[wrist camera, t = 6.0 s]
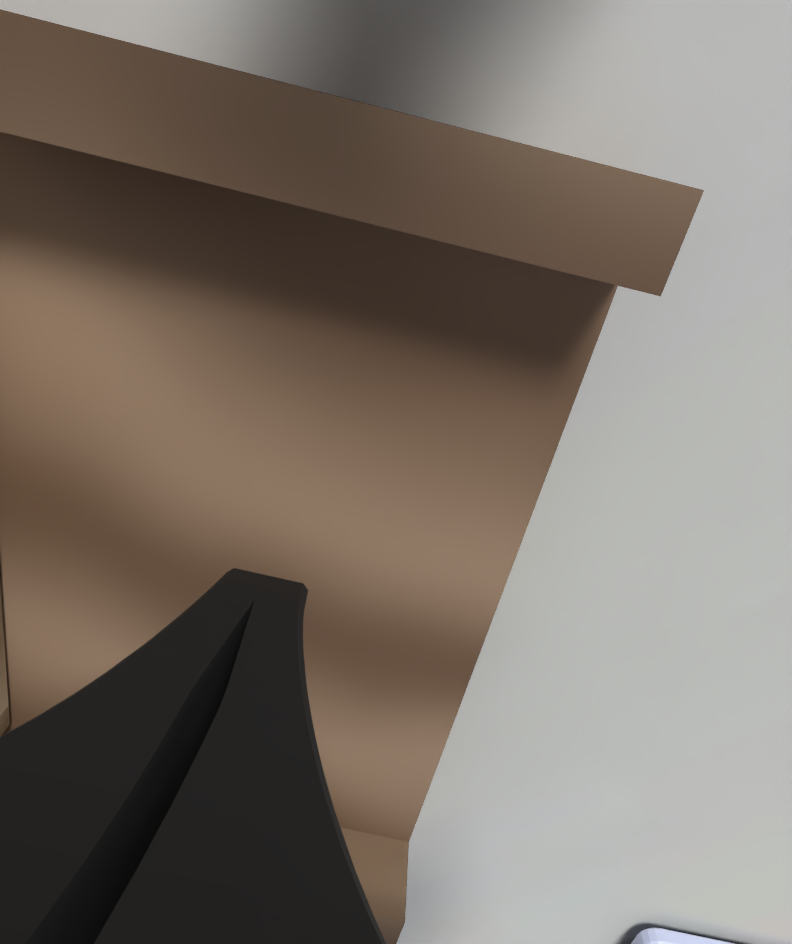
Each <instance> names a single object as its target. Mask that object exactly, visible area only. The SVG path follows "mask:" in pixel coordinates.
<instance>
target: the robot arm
mask: <svg viewBox="0 0 792 944" xmlns="http://www.w3.org/2000/svg"><path fill="white" fill-rule="evenodd" d="M307 595H308V589H307V588H306V586H305V585H304V584H303V583H299V582H295V581H291V580H286V579H282V578H277V577H273V576H268V575H264V574H259V573H255V572H250V571H246V570H241V569H237V568H233V569H231V570H229V571H228V572H226V573H225V574H224V575H223V576H222V577H221V578H220V579H219V580H218V581H217V582H216V583H215V584H214V585H213V586H212V587H211V588H210V589H209V590H208V591H207V592H206V593H205V594H203V595H202V596H201V597H200V598H199V599H198V600H197V601H196V602H195V603H193V604H192V605H191V606H190V607H189V608H188V609H187V610H185V611H184V612H183V613H182V614H181V615H180V616H178V617H177V618H176V619H175V620H173V621H172V622H171V623H170V624H169V625H167V626H166V627H165V628H164V629H162V630H161V631H160V632H159V633H158V634H156V635H155V636H154V637H153V638H151V639H150V640H149V641H148V642H146V643H145V644H144V645H142V646H141V647H140V648H138V649H137V650H136V651H134V652H133V653H132V654H130V655H129V656H127V657H126V658H125V659H123V660H122V661H121V662H119V663H118V664H117V665H115V666H114V667H112V668H111V669H110V670H108V671H107V672H106V673H104V674H103V675H101V676H100V677H98V678H97V679H95V680H94V681H92V682H91V683H89V684H88V685H86V686H85V687H83V688H82V689H80V690H79V691H77V692H76V693H74V694H73V695H71V696H69V697H68V698H66V699H65V700H63V701H61V702H60V703H58V704H56V705H55V706H53V707H52V708H50V709H48V710H47V711H45V712H43V713H42V714H40V715H38V716H37V717H35V718H33V719H31V720H29V721H28V722H26V723H24V724H22V725H21V726H19V727H17V728H15V729H13V730H12V731H10V732H8V733H6V734H5V735H3V736H1V737H0V944H386V942H385V940H384V938H383V935H382V933H381V931H380V929H379V926H378V924H377V922H376V920H375V917H374V915H373V913H372V910H371V908H370V905H369V903H368V900H367V898H366V895H365V893H364V890H363V888H362V885H361V883H360V881H359V878H358V876H357V873H356V871H355V868H354V865H353V862H352V859H351V856H350V853H349V850H348V848H347V845H346V842H345V839H344V836H343V833H342V830H341V827H340V825H339V822H338V819H337V816H336V813H335V810H334V807H333V803H332V800H331V796H330V793H329V789H328V786H327V782H326V779H325V775H324V771H323V767H322V763H321V759H320V755H319V751H318V747H317V742H316V737H315V732H314V727H313V722H312V716H311V710H310V704H309V698H308V691H307V683H306V674H305V662H304V650H303V616H304V610H305V605H306V600H307ZM631 944H735V943H730V942H725V941H720V940H715V939H711V938H706V937H701V936H696V935H691V934H687V933H682V932H677V931H672V930H667V929H663V928H647V929H645V930H642V931H641V932H640V933H638V935H637V936H636V937H635V939H634V940H633V942H632V943H631Z"/></svg>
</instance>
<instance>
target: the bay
mask: <svg viewBox="0 0 792 944" xmlns="http://www.w3.org/2000/svg"><path fill="white" fill-rule="evenodd" d="M703 191H704V190H701V189H697V188H693V187H689V186H685V185H681V184H677V183H673V182H669V181H666V180H662V179H658V178H654V177H650V176H646V175H642V174H638V173H634V172H630V171H627V170H623V169H619V168H615V167H611V166H607V165H603V164H599V163H595V162H592V161H588V160H584V159H580V158H576V157H572V156H568V155H564V154H560V153H557V152H553V151H549V150H545V149H541V148H537V147H533V146H529V145H525V144H522V143H518V142H514V141H510V140H506V139H502V138H498V137H494V136H490V135H487V134H483V133H479V132H475V131H471V130H467V129H463V128H459V127H455V126H452V125H448V124H444V123H440V122H436V121H432V120H428V119H424V118H420V117H417V116H413V115H409V114H405V113H401V112H397V111H393V110H389V109H385V108H381V107H378V106H374V105H370V104H366V103H362V102H358V101H354V100H350V99H346V98H343V97H339V96H335V95H331V94H327V93H323V92H319V91H315V90H311V89H308V88H304V87H300V86H296V85H292V84H288V83H284V82H280V81H276V80H273V79H269V78H265V77H261V76H257V75H253V74H249V73H245V72H241V71H238V70H234V69H230V68H226V67H222V66H218V65H214V64H210V63H206V62H203V61H199V60H195V59H191V58H187V57H183V56H179V55H175V54H171V53H168V52H164V51H160V50H156V49H152V48H148V47H144V46H140V45H136V44H132V43H129V42H125V41H121V40H117V39H113V38H109V37H105V36H101V35H97V34H94V33H90V32H86V31H82V30H78V29H74V28H70V27H66V26H62V25H59V24H55V23H51V22H47V21H43V20H39V19H35V18H31V17H27V16H24V15H20V14H16V13H12V12H8V11H4V10H0V587H1V601H2V616H3V630H4V645H5V659H6V674H7V688H8V703H9V717H10V725H9V726H8V727H7V729H6V730H5V731H4V733H3V734H2V735H1V736H3V735H5V734H6V733H8V732H10V731H12V730H13V729H15V728H17V727H19V726H21V725H22V724H24V723H26V722H28V721H29V720H31V719H33V718H35V717H37V716H38V715H40V714H42V713H43V712H45V711H47V710H48V709H50V708H52V707H53V706H55V705H56V704H58V703H60V702H61V701H63V700H65V699H66V698H68V697H69V696H71V695H73V694H74V693H76V692H77V691H79V690H80V689H82V688H83V687H85V686H86V685H88V684H89V683H91V682H92V681H94V680H95V679H97V678H98V677H100V676H101V675H103V674H104V673H106V672H107V671H108V670H110V669H111V668H112V667H114V666H115V665H117V664H118V663H119V662H121V661H122V660H123V659H125V658H126V657H127V656H129V655H130V654H132V653H133V652H134V651H136V650H137V649H138V648H140V647H141V646H142V645H144V644H145V643H146V642H148V641H149V640H150V639H151V638H153V637H154V636H155V635H156V634H158V633H159V632H160V631H161V630H162V629H164V628H165V627H166V626H167V625H169V624H170V623H171V622H172V621H173V620H175V619H176V618H177V617H178V616H180V615H181V614H182V613H183V612H184V611H185V610H187V609H188V608H189V607H190V606H191V605H192V604H193V603H195V602H196V601H197V600H198V599H199V598H200V597H201V596H202V595H203V594H205V593H206V592H207V591H208V590H209V589H210V588H211V587H212V586H213V585H214V584H215V583H216V582H217V581H218V580H219V579H220V578H221V577H222V576H223V575H224V574H225V573H226V572H228V571H229V570H231V569H233V568H237V569H241V570H246V571H250V572H255V573H259V574H264V575H268V576H273V577H277V578H282V579H286V580H291V581H295V582H299V583H303V584H304V585H305V586H306V588H307V589H308V595H307V600H306V605H305V610H304V616H303V650H304V662H305V674H306V683H307V691H308V698H309V704H310V710H311V716H312V722H313V727H314V732H315V737H316V742H317V747H318V751H319V755H320V759H321V763H322V767H323V771H324V775H325V779H326V782H327V786H328V789H329V793H330V796H331V800H332V803H333V807H334V810H335V813H336V816H337V819H338V822H339V825H340V827H341V830H342V833H343V836H344V839H345V842H346V845H347V848H348V850H349V853H350V856H351V859H352V862H353V865H354V868H355V871H356V873H357V876H358V878H359V881H360V883H361V885H362V888H363V890H364V893H365V895H366V898H367V900H368V903H369V905H370V908H371V910H372V913H373V915H374V917H375V920H376V922H377V924H378V926H379V929H380V931H381V933H382V935H383V938H384V940H385V942H386V944H396V942H397V940H398V937H399V935H400V932H401V930H402V928H403V925H404V923H405V907H406V887H407V866H408V846H409V840H410V837H411V834H412V832H413V829H414V826H415V824H416V821H417V818H418V816H419V813H420V810H421V808H422V805H423V802H424V800H425V797H426V794H427V792H428V789H429V786H430V784H431V781H432V778H433V776H434V773H435V771H436V768H437V765H438V763H439V760H440V757H441V755H442V752H443V749H444V747H445V744H446V741H447V739H448V736H449V733H450V731H451V728H452V725H453V723H454V720H455V717H456V715H457V712H458V709H459V707H460V704H461V701H462V699H463V696H464V693H465V691H466V688H467V685H468V683H469V680H470V677H471V675H472V672H473V669H474V667H475V664H476V661H477V659H478V656H479V653H480V651H481V648H482V645H483V643H484V640H485V637H486V635H487V632H488V630H489V627H490V624H491V622H492V619H493V616H494V614H495V611H496V608H497V606H498V603H499V600H500V598H501V595H502V592H503V590H504V587H505V584H506V582H507V579H508V576H509V574H510V571H511V568H512V566H513V563H514V560H515V558H516V555H517V552H518V550H519V547H520V544H521V542H522V539H523V536H524V534H525V531H526V528H527V526H528V523H529V520H530V518H531V515H532V512H533V510H534V507H535V504H536V502H537V499H538V496H539V494H540V491H541V488H542V486H543V483H544V481H545V478H546V475H547V473H548V470H549V467H550V465H551V462H552V459H553V457H554V454H555V451H556V449H557V446H558V443H559V441H560V438H561V435H562V433H563V430H564V427H565V425H566V422H567V419H568V417H569V414H570V411H571V409H572V406H573V403H574V401H575V398H576V395H577V393H578V390H579V387H580V385H581V382H582V379H583V377H584V374H585V371H586V369H587V366H588V363H589V361H590V358H591V355H592V353H593V350H594V347H595V345H596V342H597V340H598V337H599V334H600V332H601V329H602V326H603V324H604V321H605V318H606V316H607V313H608V310H609V308H610V305H611V302H612V300H613V297H614V294H615V292H616V289H617V286H622V287H626V288H630V289H634V290H638V291H642V292H646V293H650V294H654V295H658V296H661V294H662V291H663V289H664V287H665V284H666V282H667V279H668V277H669V274H670V272H671V269H672V267H673V265H674V262H675V260H676V257H677V255H678V252H679V250H680V247H681V245H682V243H683V240H684V238H685V235H686V233H687V230H688V228H689V225H690V223H691V221H692V218H693V216H694V213H695V211H696V208H697V206H698V203H699V201H700V199H701V196H702V194H703ZM1 736H0V737H1Z"/></svg>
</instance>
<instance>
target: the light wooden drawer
mask: <svg viewBox="0 0 792 944" xmlns="http://www.w3.org/2000/svg"><path fill="white" fill-rule="evenodd" d="M9 725H10V717H9V703H8V688H7V674H6V659H5V645H4V630H3V616H2V601H1V587H0V736H1V735H2V734H3V733H4V731H5V730H6V729H7V727H8V726H9Z"/></svg>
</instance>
